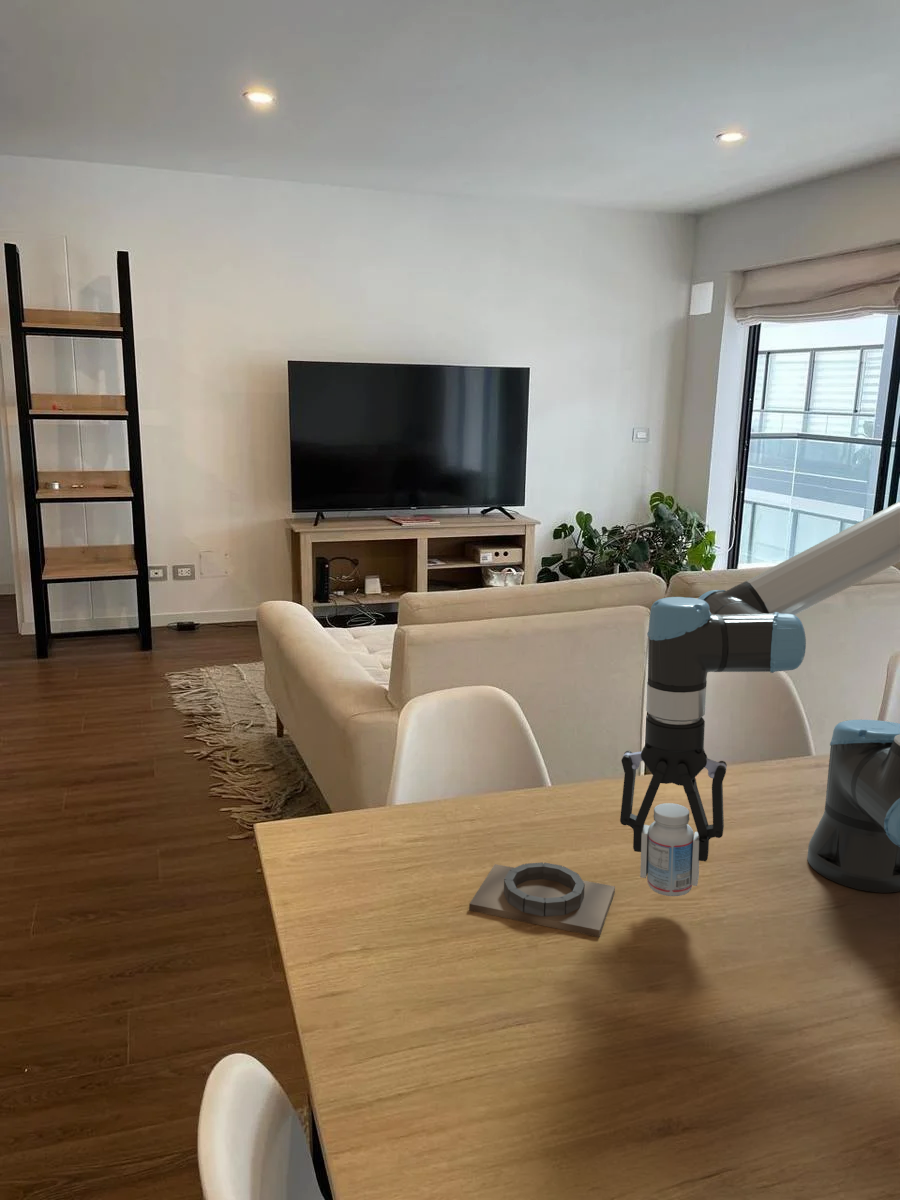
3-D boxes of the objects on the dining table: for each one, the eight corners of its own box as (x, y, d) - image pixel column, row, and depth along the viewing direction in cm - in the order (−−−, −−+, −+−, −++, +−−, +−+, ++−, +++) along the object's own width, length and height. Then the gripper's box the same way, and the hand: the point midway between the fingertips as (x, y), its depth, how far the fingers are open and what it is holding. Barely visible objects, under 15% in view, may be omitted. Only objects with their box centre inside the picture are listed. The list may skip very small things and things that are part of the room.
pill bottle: (688, 876, 124) (691, 801, 121) (695, 899, 118) (698, 820, 115) (643, 874, 124) (646, 799, 122) (649, 897, 118) (651, 819, 116)
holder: (614, 892, 127) (615, 873, 126) (599, 937, 116) (600, 916, 115) (494, 870, 133) (495, 851, 132) (469, 910, 122) (469, 890, 121)
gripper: (752, 713, 116) (743, 874, 121) (607, 700, 123) (604, 854, 127) (750, 732, 109) (741, 902, 114) (597, 717, 116) (595, 879, 120)
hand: (669, 876), depth 121 cm, fingers closed on pill bottle, 6 cm apart
